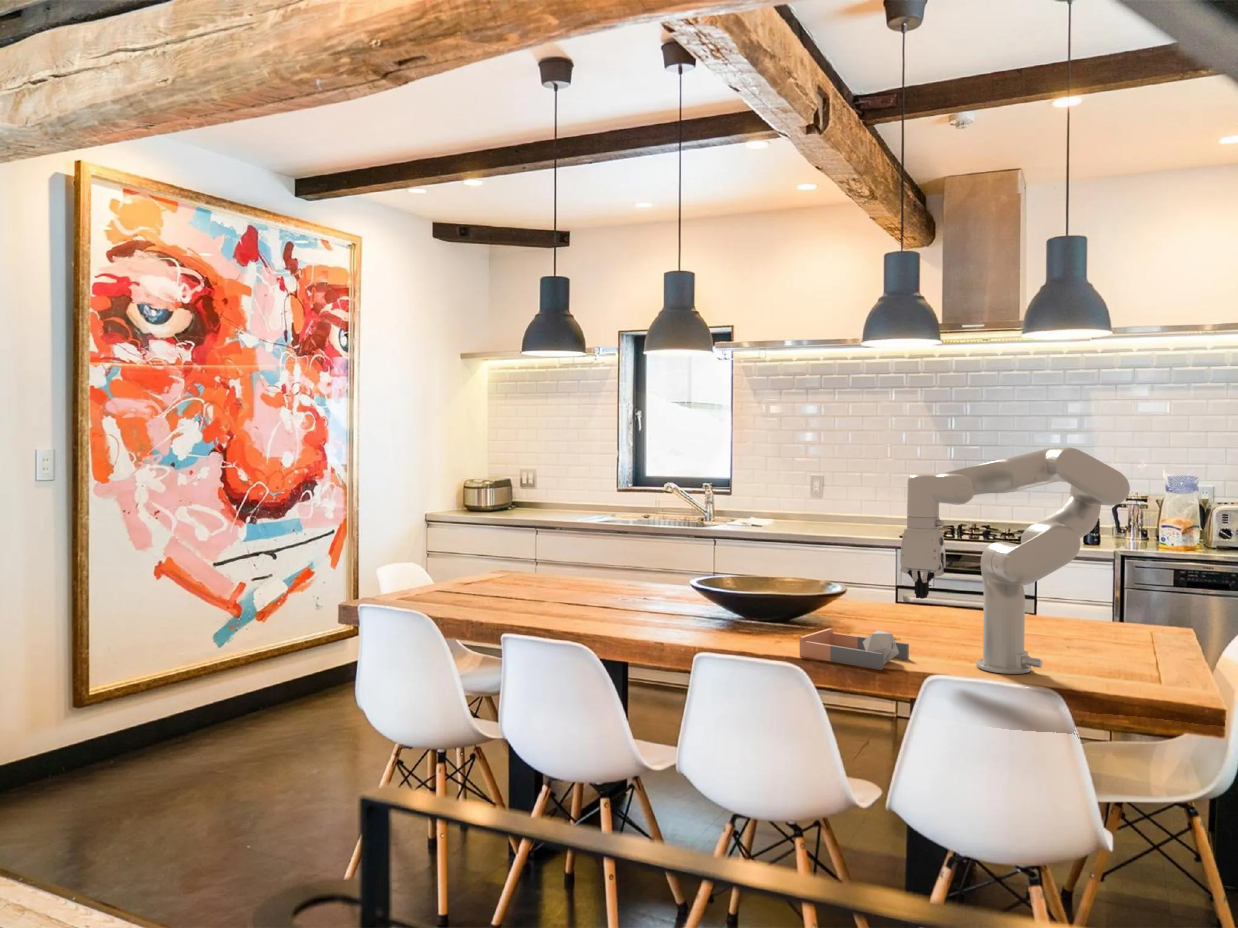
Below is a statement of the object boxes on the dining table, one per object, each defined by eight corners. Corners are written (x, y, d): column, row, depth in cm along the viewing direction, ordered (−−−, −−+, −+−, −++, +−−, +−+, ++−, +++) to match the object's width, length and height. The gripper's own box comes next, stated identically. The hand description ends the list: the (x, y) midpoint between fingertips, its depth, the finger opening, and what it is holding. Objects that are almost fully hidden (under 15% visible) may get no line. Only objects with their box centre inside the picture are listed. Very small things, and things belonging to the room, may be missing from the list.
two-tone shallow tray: (908, 659, 237) (908, 640, 237) (881, 670, 225) (881, 650, 225) (829, 646, 252) (829, 628, 252) (799, 655, 240) (799, 637, 240)
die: (865, 668, 230) (889, 640, 227) (850, 645, 237) (873, 618, 234) (888, 676, 233) (911, 649, 230) (872, 653, 241) (895, 627, 237)
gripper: (958, 525, 224) (957, 599, 224) (900, 521, 233) (899, 592, 234) (946, 527, 218) (945, 603, 218) (887, 523, 228) (886, 596, 228)
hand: (921, 597), depth 226 cm, fingers closed
